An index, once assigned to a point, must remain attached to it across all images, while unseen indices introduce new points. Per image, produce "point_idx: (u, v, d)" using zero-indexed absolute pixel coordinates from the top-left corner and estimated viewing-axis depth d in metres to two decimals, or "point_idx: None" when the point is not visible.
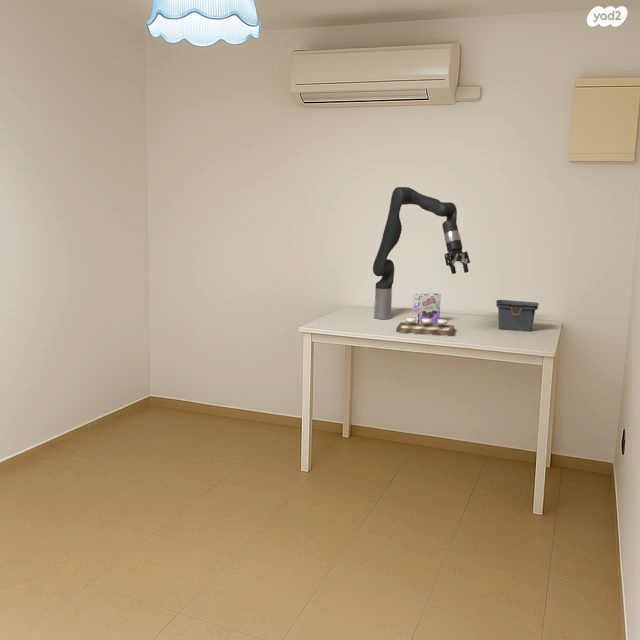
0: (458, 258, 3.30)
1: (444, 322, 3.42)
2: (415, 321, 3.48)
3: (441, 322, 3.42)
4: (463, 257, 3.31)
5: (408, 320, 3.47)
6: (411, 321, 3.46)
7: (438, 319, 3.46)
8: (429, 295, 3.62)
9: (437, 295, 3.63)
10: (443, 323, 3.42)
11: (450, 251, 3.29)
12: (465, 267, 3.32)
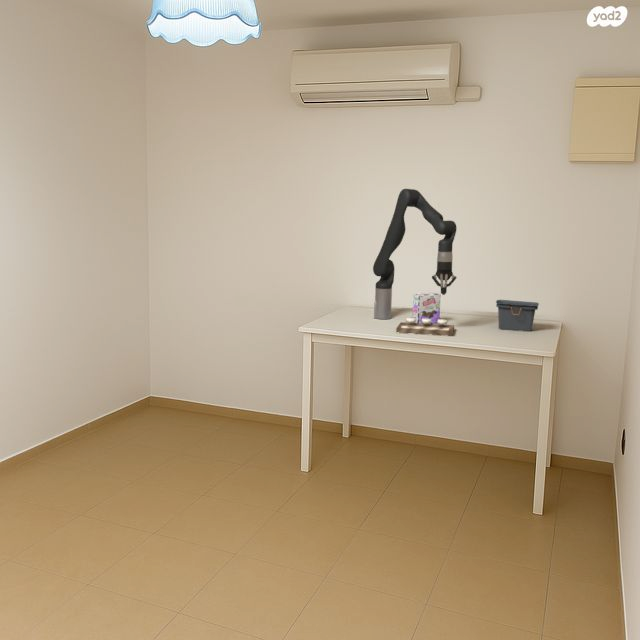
0: (443, 278, 3.40)
1: (444, 322, 3.42)
2: (415, 321, 3.48)
3: (441, 322, 3.42)
4: (446, 279, 3.39)
5: (408, 320, 3.47)
6: (411, 321, 3.46)
7: (438, 319, 3.46)
8: (429, 295, 3.62)
9: (437, 295, 3.63)
10: (443, 323, 3.42)
11: None
12: None
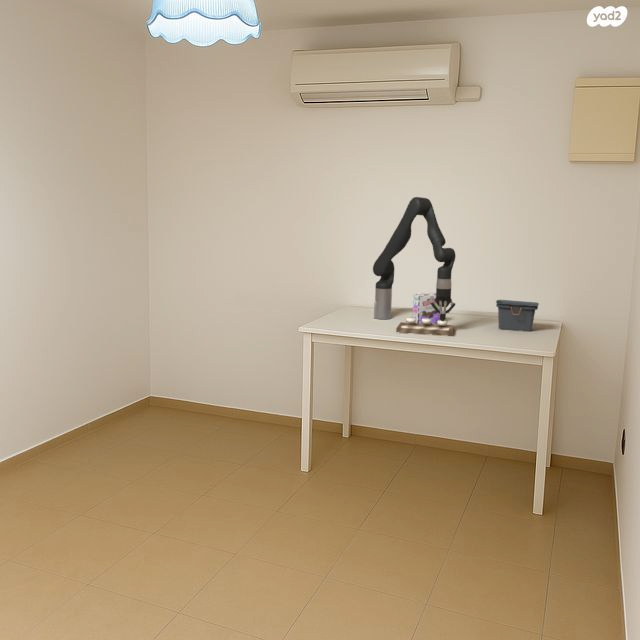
0: (442, 305, 3.42)
1: (444, 323, 3.43)
2: (415, 321, 3.48)
3: (441, 323, 3.43)
4: (445, 306, 3.41)
5: (408, 320, 3.47)
6: (411, 321, 3.46)
7: (438, 320, 3.46)
8: (429, 295, 3.62)
9: None
10: (443, 324, 3.43)
11: None
12: None
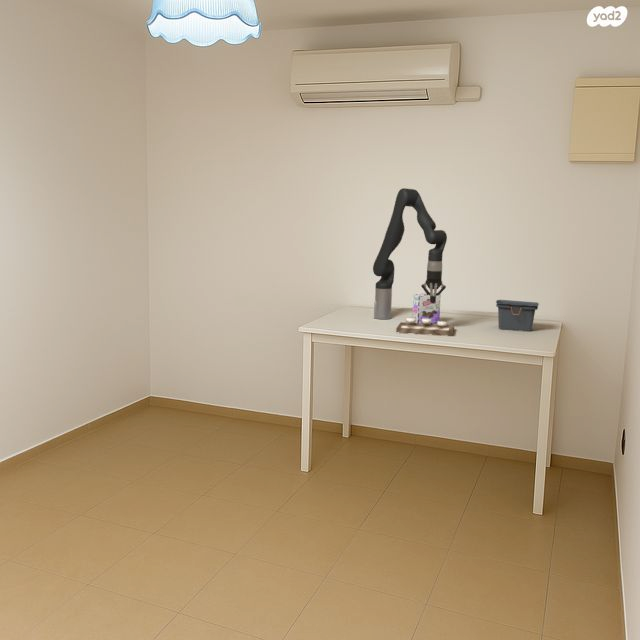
0: (432, 287, 3.42)
1: (444, 324, 3.43)
2: (415, 321, 3.48)
3: (441, 324, 3.43)
4: (435, 288, 3.41)
5: (408, 320, 3.47)
6: (411, 321, 3.46)
7: (438, 321, 3.46)
8: (429, 295, 3.62)
9: None
10: (443, 325, 3.43)
11: None
12: None
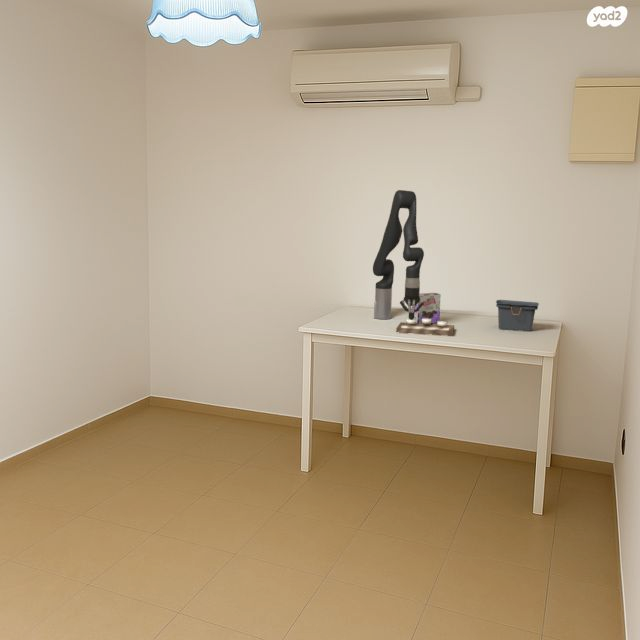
0: (411, 304, 3.46)
1: (444, 324, 3.43)
2: (415, 322, 3.48)
3: (441, 324, 3.43)
4: (413, 305, 3.45)
5: (408, 321, 3.47)
6: (411, 322, 3.46)
7: (438, 321, 3.46)
8: (429, 295, 3.62)
9: (437, 295, 3.63)
10: (443, 325, 3.43)
11: None
12: None
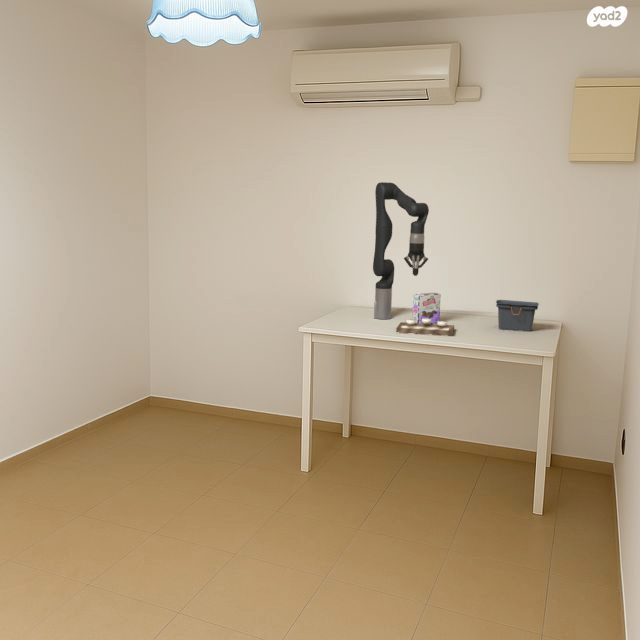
0: (415, 260, 3.47)
1: (444, 324, 3.43)
2: (415, 323, 3.48)
3: (441, 324, 3.43)
4: (418, 260, 3.46)
5: (408, 322, 3.47)
6: (411, 323, 3.46)
7: (438, 321, 3.46)
8: (429, 295, 3.62)
9: (437, 295, 3.63)
10: (443, 325, 3.43)
11: (409, 251, 3.48)
12: None
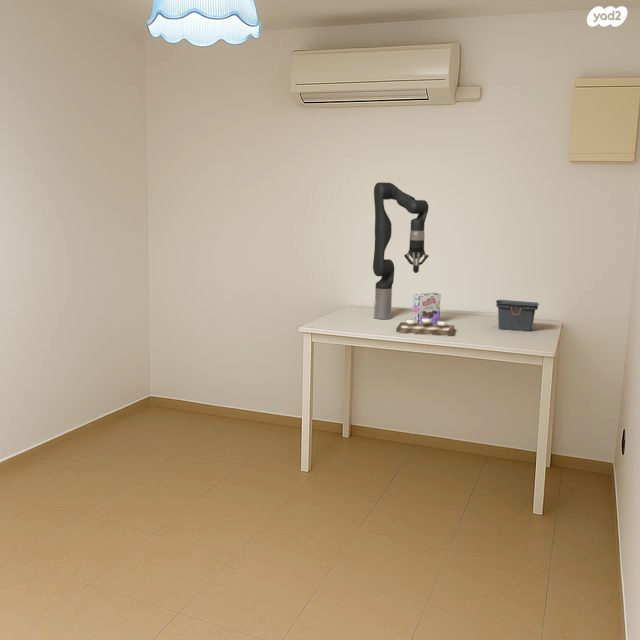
0: (415, 257, 3.47)
1: (444, 324, 3.43)
2: (415, 323, 3.48)
3: (441, 324, 3.43)
4: (418, 258, 3.46)
5: (408, 322, 3.47)
6: (411, 323, 3.46)
7: (438, 321, 3.46)
8: (429, 295, 3.62)
9: (437, 295, 3.63)
10: (443, 325, 3.43)
11: (409, 249, 3.48)
12: None
